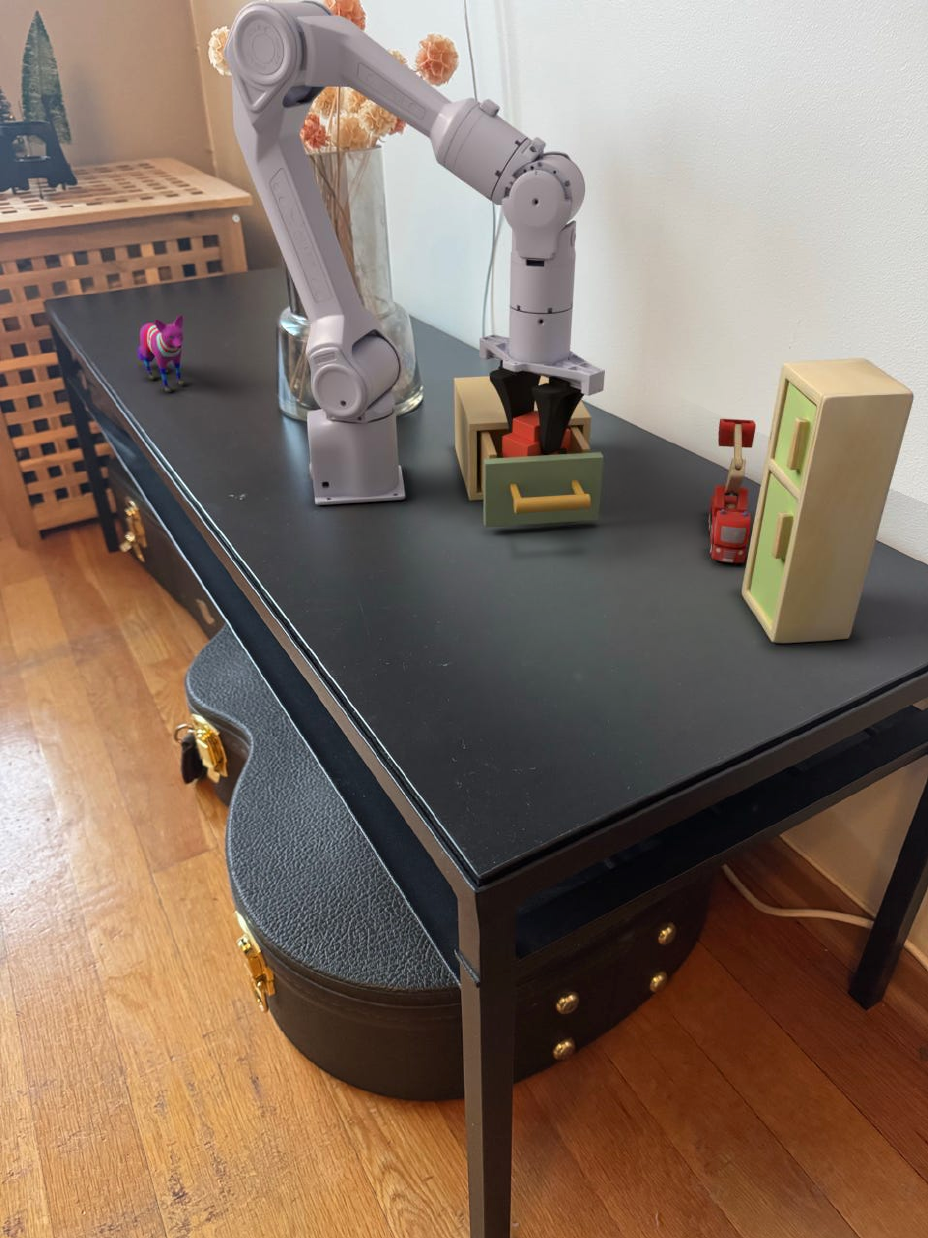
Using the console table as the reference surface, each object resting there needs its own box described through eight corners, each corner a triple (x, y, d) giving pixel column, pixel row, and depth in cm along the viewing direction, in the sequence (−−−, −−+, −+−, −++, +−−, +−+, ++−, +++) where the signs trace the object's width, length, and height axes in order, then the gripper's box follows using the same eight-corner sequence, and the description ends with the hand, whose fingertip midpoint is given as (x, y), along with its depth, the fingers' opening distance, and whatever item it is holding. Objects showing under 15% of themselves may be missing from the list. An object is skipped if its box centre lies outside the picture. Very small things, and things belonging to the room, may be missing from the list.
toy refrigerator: (730, 593, 80) (773, 360, 68) (810, 588, 81) (867, 356, 69) (762, 646, 74) (816, 398, 62) (849, 640, 74) (920, 393, 62)
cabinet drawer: (610, 543, 86) (616, 478, 82) (491, 551, 85) (492, 485, 81) (571, 467, 100) (575, 408, 96) (469, 473, 99) (469, 414, 95)
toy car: (527, 474, 88) (528, 431, 85) (501, 463, 90) (502, 420, 87) (569, 457, 91) (572, 414, 88) (543, 446, 93) (545, 404, 91)
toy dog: (177, 403, 120) (161, 324, 114) (131, 367, 132) (115, 294, 126) (203, 396, 122) (189, 319, 116) (155, 362, 134) (141, 290, 128)
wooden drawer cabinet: (586, 493, 97) (591, 417, 92) (469, 500, 96) (468, 423, 91) (560, 442, 108) (563, 372, 103) (455, 448, 107) (454, 377, 102)
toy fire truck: (709, 565, 84) (725, 470, 79) (706, 499, 95) (720, 412, 90) (746, 568, 84) (764, 473, 78) (739, 502, 95) (755, 414, 89)
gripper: (455, 297, 84) (457, 434, 92) (569, 331, 75) (561, 480, 83) (509, 283, 88) (507, 416, 96) (625, 315, 79) (612, 458, 87)
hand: (535, 445), depth 90 cm, fingers closed on toy car, 3 cm apart
